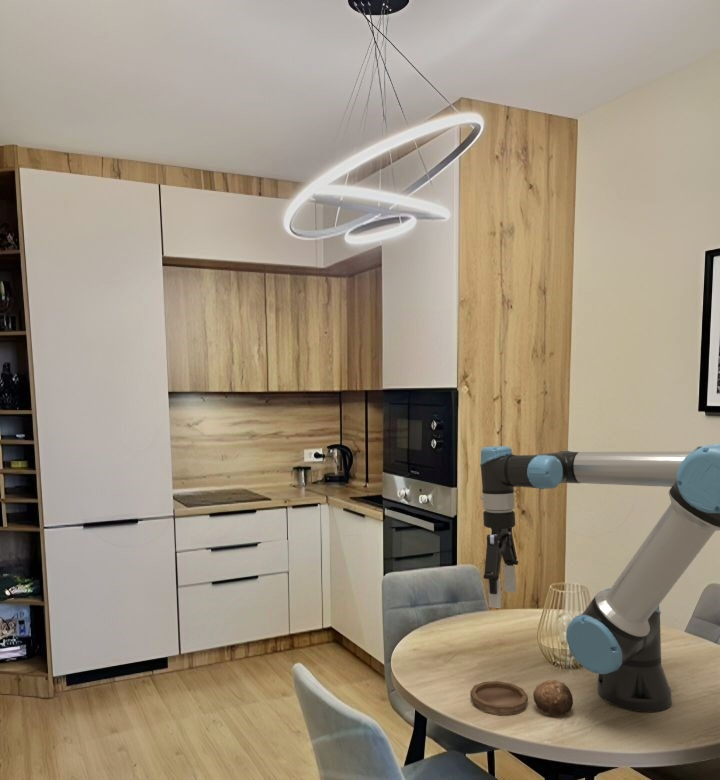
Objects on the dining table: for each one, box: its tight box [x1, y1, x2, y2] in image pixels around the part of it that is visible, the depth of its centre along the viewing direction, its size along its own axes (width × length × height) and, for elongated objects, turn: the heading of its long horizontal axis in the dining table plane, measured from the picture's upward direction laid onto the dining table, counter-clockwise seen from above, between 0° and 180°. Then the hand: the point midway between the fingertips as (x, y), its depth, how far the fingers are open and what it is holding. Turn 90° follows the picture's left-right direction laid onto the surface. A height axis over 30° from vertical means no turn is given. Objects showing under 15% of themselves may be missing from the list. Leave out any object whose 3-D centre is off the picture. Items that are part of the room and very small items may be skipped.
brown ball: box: [532, 679, 574, 717], centre depth 129 cm, size 8×8×6 cm
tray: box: [469, 680, 529, 717], centre depth 133 cm, size 12×12×2 cm
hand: (503, 599), depth 144 cm, fingers open, 13 cm apart
